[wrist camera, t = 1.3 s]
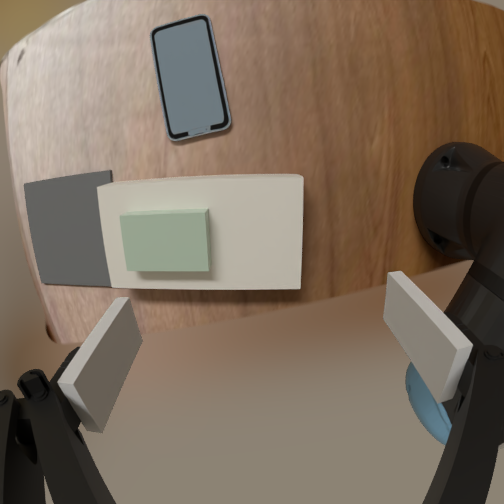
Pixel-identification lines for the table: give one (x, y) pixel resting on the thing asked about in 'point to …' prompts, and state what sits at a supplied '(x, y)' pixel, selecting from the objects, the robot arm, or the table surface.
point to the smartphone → (189, 78)
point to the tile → (166, 240)
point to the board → (216, 229)
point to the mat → (68, 229)
